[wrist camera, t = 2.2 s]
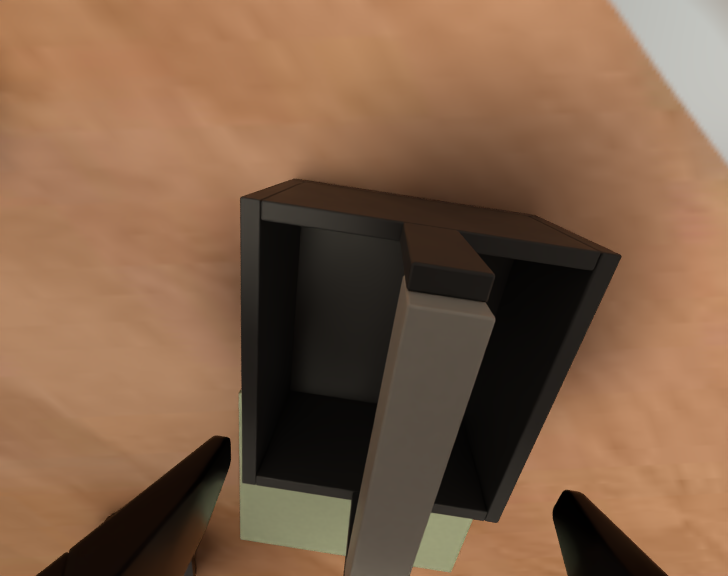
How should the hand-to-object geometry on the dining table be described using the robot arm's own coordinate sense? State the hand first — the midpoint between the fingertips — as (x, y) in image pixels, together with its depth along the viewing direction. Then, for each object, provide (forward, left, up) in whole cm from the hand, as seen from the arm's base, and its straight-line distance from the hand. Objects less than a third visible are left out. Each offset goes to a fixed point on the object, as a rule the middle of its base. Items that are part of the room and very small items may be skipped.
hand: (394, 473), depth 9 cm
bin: (0, 0, -9) cm, 9 cm away
